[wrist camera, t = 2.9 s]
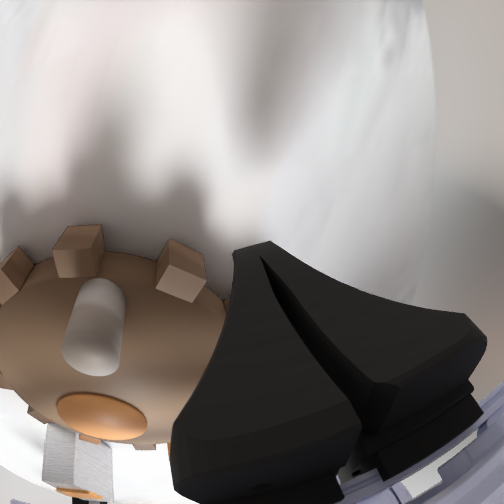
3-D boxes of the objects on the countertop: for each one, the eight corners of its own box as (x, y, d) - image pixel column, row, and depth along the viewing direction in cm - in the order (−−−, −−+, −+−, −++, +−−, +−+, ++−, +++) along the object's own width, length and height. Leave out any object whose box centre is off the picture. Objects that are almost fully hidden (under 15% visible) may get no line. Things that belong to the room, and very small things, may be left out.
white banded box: (112, 448, 21) (114, 504, 16) (83, 449, 21) (83, 502, 16) (77, 421, 18) (74, 486, 13) (47, 422, 18) (41, 482, 13)
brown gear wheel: (277, 400, 21) (297, 455, 16) (83, 435, 19) (81, 484, 14) (230, 177, 11) (266, 234, 7) (-54, 279, 9) (-93, 338, 5)
